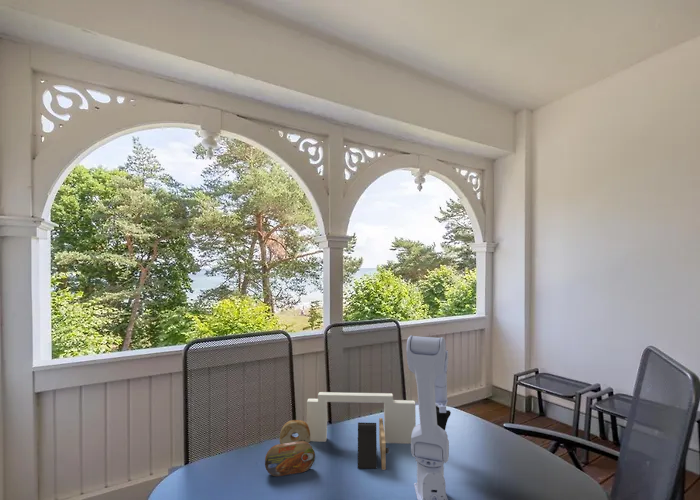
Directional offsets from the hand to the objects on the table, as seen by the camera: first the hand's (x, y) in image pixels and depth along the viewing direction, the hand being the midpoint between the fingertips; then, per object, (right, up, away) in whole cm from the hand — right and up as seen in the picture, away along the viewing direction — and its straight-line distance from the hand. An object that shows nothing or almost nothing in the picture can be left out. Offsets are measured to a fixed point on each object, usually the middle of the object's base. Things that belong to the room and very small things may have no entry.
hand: (438, 427), depth 116 cm
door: (-18, -10, +2) cm, 20 cm away
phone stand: (-23, -11, -2) cm, 26 cm away
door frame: (-25, -11, +12) cm, 30 cm away
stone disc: (-48, -11, +5) cm, 49 cm away
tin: (-47, -10, -8) cm, 49 cm away
